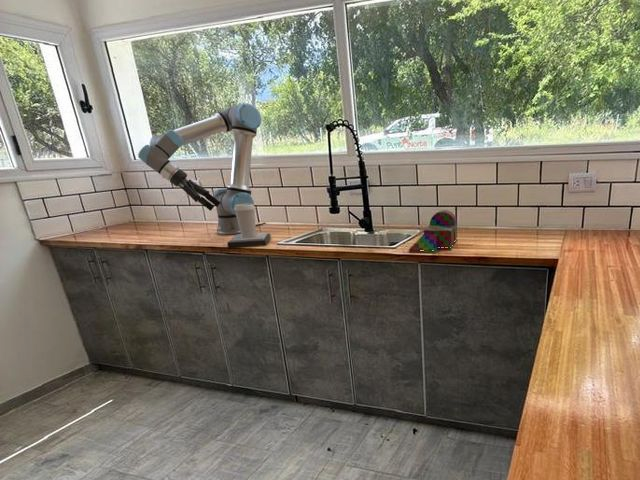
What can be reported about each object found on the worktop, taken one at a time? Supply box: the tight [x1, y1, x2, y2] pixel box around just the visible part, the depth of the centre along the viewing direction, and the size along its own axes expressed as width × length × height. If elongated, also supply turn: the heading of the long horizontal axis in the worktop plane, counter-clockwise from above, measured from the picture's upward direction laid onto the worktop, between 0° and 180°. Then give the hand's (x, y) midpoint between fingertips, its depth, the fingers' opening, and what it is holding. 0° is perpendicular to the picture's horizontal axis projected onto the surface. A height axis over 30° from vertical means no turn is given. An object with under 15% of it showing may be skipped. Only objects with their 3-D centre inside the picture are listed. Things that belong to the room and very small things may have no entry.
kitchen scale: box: [226, 232, 272, 249], centre depth 217 cm, size 18×17×3 cm
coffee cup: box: [234, 204, 257, 238], centre depth 213 cm, size 10×10×15 cm
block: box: [408, 209, 458, 254], centre depth 196 cm, size 25×17×14 cm
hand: (216, 206), depth 211 cm, fingers open, 13 cm apart
